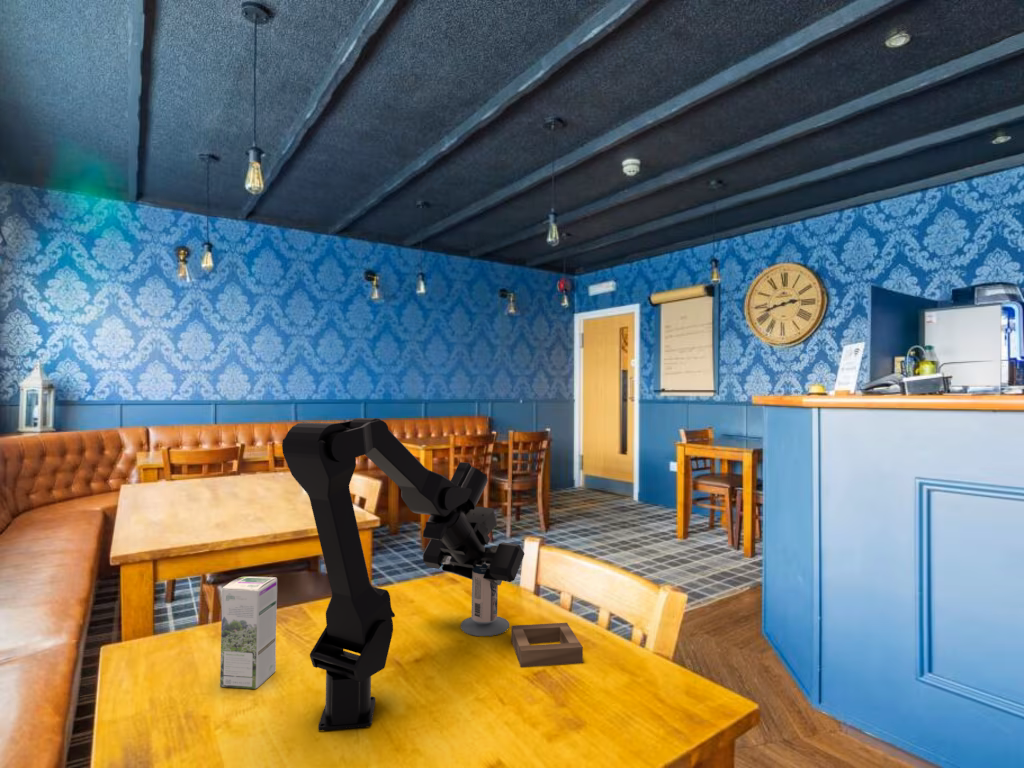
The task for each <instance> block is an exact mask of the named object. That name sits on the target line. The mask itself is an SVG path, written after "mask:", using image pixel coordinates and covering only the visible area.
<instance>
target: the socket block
mask: <svg viewBox="0 0 1024 768" xmlns="http://www.w3.org/2000/svg"><path fill="white" fill-rule="evenodd" d="M510 631H511V632H510V633H511V634H510V635H511V636H510V637H511V638H510V641H511V644H512V646H513V650H514V653H515V654H516V657H517V661H518V663H519V665H520V668H527V667H528V668H529V667H542V666H556V665H557V666H559V665H571V664H574V665H575V664H583V663H584V662H583V661H584V658H583V657H584V653H583V651H584V649H583V645H582V644H581V642H580V640H579V639H578V638H577V636H576V634H575V632H574V631H573V630H572V628H571V627H570V625H569V624H568V622H555V623H538V624H536V623H535V624H520V625H519V624H518V625H517V624H516V625H511V629H510ZM558 642H559V643H558ZM544 643H545V644H544ZM547 643H548V644H547ZM531 644H532V645H531Z"/></svg>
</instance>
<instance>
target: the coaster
mask: <svg viewBox="0 0 1024 768" xmlns="http://www.w3.org/2000/svg"><path fill="white" fill-rule="evenodd" d="M471 617H472V616H471ZM471 617H468V618H465V619H464V620H462V621H461V623H460V630H461V629H462V630H461V631H462V632H463V631H464V632H463V633H464V634H467V635H468V636H469V635H470V636H474V637H480V636H484V637H485V636H489V637H494V636H493V635H496V636H499V635H498V634H500V635H502V634H504V633H503V632H505V631H506V630H507V629H508V628H509V629H510V622H509V621H508V620H507V619H506V618H504V617H501V616H498V615H497V619H496V620H495V621H493V622H492V623H490V624H479V623H476V622H475V621H473V620H472V618H471ZM509 629H508V630H509ZM508 630H507V631H508ZM507 631H506V632H507ZM506 632H505V633H506ZM501 633H502V634H501ZM484 637H483V638H484Z"/></svg>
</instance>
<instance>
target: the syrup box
mask: <svg viewBox="0 0 1024 768" xmlns="http://www.w3.org/2000/svg"><path fill="white" fill-rule="evenodd" d="M277 603H278V578H277V577H273V576H269V577H268V576H245V575H244V576H241V577H238V578H236V579H233V580H232V581H230V582H229V583H227V584H225V585H224V586H223V587H222V589H221V623H220V624H221V626H220V628H221V629H220V631H221V632H220V633H221V635H220V673H219V674H220V675H219V677H220V678H219V681H220V683H219V687H221V688H222V687H223V688H233V689H235V688H237V689H251V690H254V689H255V690H256V689H258V688H259V687H260V686H261V685H263V684H264V682H266V681H267V680H268V679H269V678H270V677H271V676H272V675H273V674H274V673H276V670H277V668H276V665H277V662H276V661H277V659H276V657H277V655H276V651H277V649H276V648H277V645H276V644H277V606H278V604H277Z"/></svg>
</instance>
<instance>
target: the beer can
mask: <svg viewBox="0 0 1024 768" xmlns="http://www.w3.org/2000/svg"><path fill="white" fill-rule="evenodd" d="M485 563H486V562H484V564H483V566H477V565H476V566H475V568H472V580H471V618H472V620H473V621H475V622H476V623H479V624H490V623H492V622H493V621H495V620H496V619H497V616H498V601H499V600H498V599H499V598H498V597H499V596H498V595H499V594H498V593H499V592H498V590H499V589H498V588H499V587H498V586H499V585H497V584H495V583H492V582H490V581H488V580H486V579H484V578H483V577H484V574H485V572H486V570H487V565H486V564H485Z"/></svg>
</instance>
